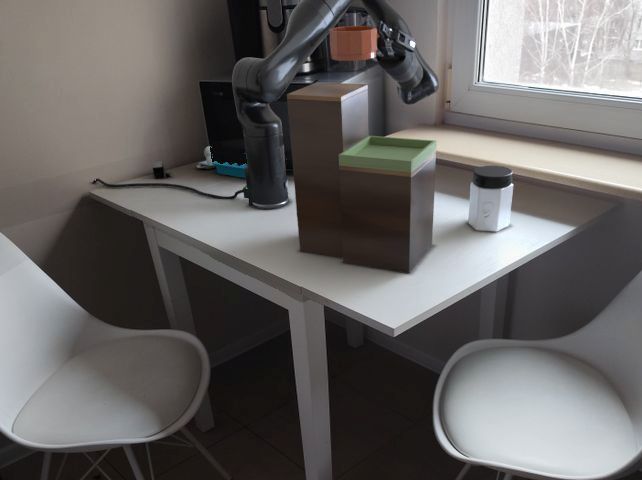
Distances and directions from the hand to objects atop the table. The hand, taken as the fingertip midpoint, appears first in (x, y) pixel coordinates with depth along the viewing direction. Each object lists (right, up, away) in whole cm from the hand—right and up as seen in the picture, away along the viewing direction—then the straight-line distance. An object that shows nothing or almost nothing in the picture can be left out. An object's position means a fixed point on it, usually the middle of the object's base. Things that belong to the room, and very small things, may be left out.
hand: (371, 25), depth 127 cm
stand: (-2, -46, +2) cm, 46 cm away
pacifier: (-46, -12, +58) cm, 75 cm away
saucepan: (-2, -6, -1) cm, 6 cm away
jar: (+26, -39, +11) cm, 48 cm away
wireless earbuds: (-58, -16, +53) cm, 80 cm away
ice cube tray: (-32, -15, +52) cm, 63 cm away
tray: (+3, -30, -11) cm, 32 cm away
